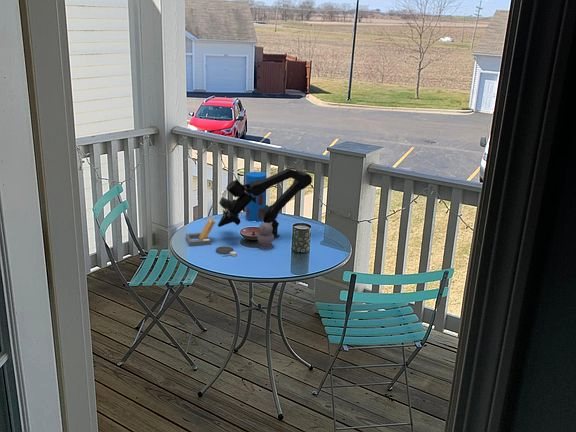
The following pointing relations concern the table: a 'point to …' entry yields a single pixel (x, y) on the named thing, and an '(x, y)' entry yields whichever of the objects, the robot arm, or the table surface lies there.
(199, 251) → the table surface
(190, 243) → the breaker housing
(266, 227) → the cat figurine
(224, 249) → the ping pong paddle
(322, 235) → the table surface
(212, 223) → the block
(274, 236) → the robot arm
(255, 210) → the thermos
